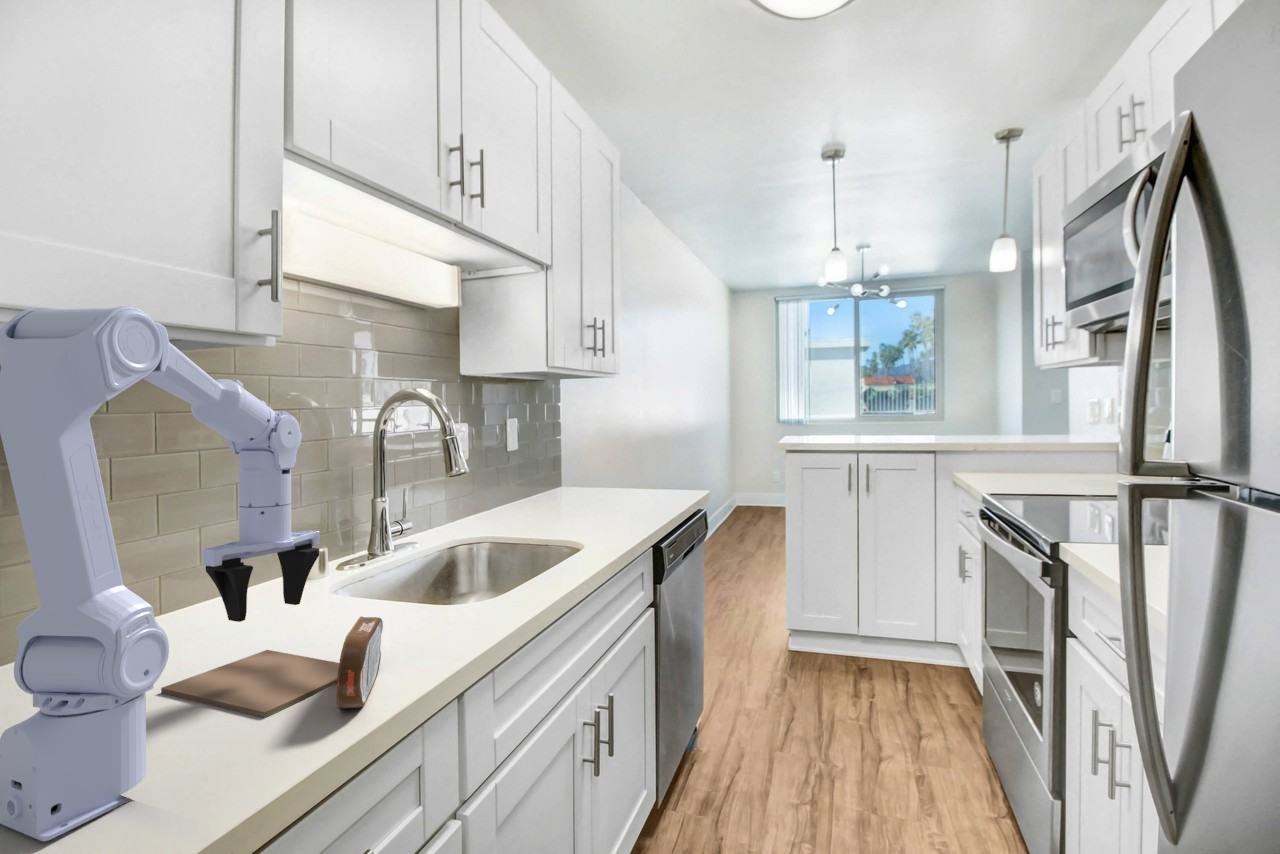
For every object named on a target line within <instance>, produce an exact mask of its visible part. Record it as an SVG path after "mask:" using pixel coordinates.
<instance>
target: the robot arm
mask: <svg viewBox="0 0 1280 854" xmlns="http://www.w3.org/2000/svg"><path fill="white" fill-rule="evenodd" d="M167 330H168V329H167V327H165V326H164V325H162V324H160V323H159V322H156V321H154V320H153V318H152V317H151V316H150V315H149V314H148V313H146V312H145V311H143V310H141V309H139V308H136V307H134V306H123V305H122V306H117V307H109V308H108V307H107V308H62V309H59V308H58V309H55V308H54V309H51V308H44V307H43V308H41V307H33V308H28V309H25V310H22V311H20V312H19V313H16V314H15V315H14V316H13V317H12V318H11V319H10V320H9V321H7V322H6V323H5V324H4V325H3V326H2V327H1V328H0V438H1V442H2V446H3V450H4V454H5V458H6V464H7V467H8V472H9V474H10V475H9V476H10V480H11V483H12V489H13V493H14V497H15V501H16V505H17V509H18V513H19V518H20V523H21V526H22V531H23V534H24V538H25V543H26V547H27V552H28V555H29V559H30V560H29V561H30V564H31V567H32V572H33V577H34V581H35V585H36V588H37V589H36V590H37V593H38V594H37V595H38V598H39V603H40V605H39V606H38V607H37V608H35V610H33V611H32V612H31V613H30V614H29V615H27V616H26V617H25V618H24V619H23V620H22V621H21V622H19V624H18V625H17V626H16V627H15V632H16V636H17V642H18V643H17V644H18V647H17V653H16V656H15V660H14V663H13V664H14V665H13V677H14V681H15V683H16V685H17V686H18V687H19V688H20V690H22V691H23V692H24V693H26V694H29V695H32V707H33V708H38V709H39V710H38V711H37V712H36V713H34V714H33V715H31V716H30V717H29V718H26V719H25V720H23V721H21V722H19V723H16V724H14V725H12V726H10V727H8V728H7V729H5V730H4V731H3V732H2V734H1V736H0V825H2V826H4V827H7V828H9V829H12V830H14V831H16V832H19V833H22V834H23V835H26V836H29V837H31V838H34V839H36V840H38V841H41V842H47V841H50V840H52V839H54V838H56V837H59V836H61V835H63V834H65V833H67V832H69V831H70V830H73V829H75V828H77V827H79V826H81V825H83V824H85V823H87V822H89V821H91V820H93V819H95V818H97V817H99V816H102V815H103V814H105V813H107V812H110V811H112V810H113V809H115V808H118V807H120V806H121V805H123V804H126V803H128V802H130V801H132V800H133V799H132V798H130V797H127V796H124V795H123V794H124V793H127V792H129V791H130V790H132V789H133V788H135V787H137V785H139V784H140V783H141V782H142V781H143V780H144V779H145V777H146V775H147V692H149V691H151V690H152V689H154V684H156V682H157V681H158V680H159V678H160V677H161V675H162V674H163V672H164V670H165V668H166V665H167V662H168V659H169V653H170V644H169V638H168V636H167V635H168V634H167V633H166V631H165V630H164V629H163V628H162V627H161V626H160V624H158V622H157V620H156V618H155V614H154V613H155V612H154V608H153V606H152V605H151V604H150V603H149V602H147V601H146V600H144V598H142V597H141V596H139V595H137V594H136V593H134V592H133V591H132V590H130V589H129V588H128V587H126V585H124V582H123V577H122V571H121V567H120V562H119V557H118V553H117V547H116V544H115V543H116V542H115V539H114V532H113V527H112V524H111V519H110V514H109V509H108V504H107V499H106V494H105V489H104V484H103V481H102V476H101V470H100V466H99V460H98V455H97V451H96V447H95V445H96V444H95V439H94V435H93V431H92V427H91V426H92V425H91V421H90V420H91V418H92V416H93V415H94V414H95V413H96V412H97V411H98V410H99V408H100V407H101V406H103V404H104V403H105V402H109V401H111V400H112V399H113V398H115V397H116V396H118V395H119V394H121V393H123V392H124V391H126V390H128V388H130V387H132V386H133V385H135V384H137V382H139V381H141V380H144V381H146V382H147V383H150V384H152V385H153V386H156V387H158V388H159V389H161V390H164V391H165V392H167V393H168V394H170V395H172V396H174V397H177V398H178V399H180V400H182V401H184V402H186V403H188V404H190V410H191V415H192V417H194V419H195V420H196V421H197V422H199V423H201V424H202V425H204V426H206V427H207V428H209V429H211V430H212V431H214V432H216V433H217V434H219V435H221V436H222V437H223V439H224V438H225V440H226V442H227V445H228V447H229V449H230V451H231V452H232V453H233V455H234V454H235V455H238V459H239V460H238V491H239V492H238V496H239V497H238V500H239V501H238V506H239V507H238V516H239V517H238V519H239V520H238V530H239V531H238V539H239V540H236V541H230V542H227V543H225V544H220V545H217V546H212V547H208V548H207V547H206V548H203V549H202V566H205V571H206V574H207V575H208V576H209V578H211V580H212V582H213V583H214V585H215V586H216V588H217V590H218V592H219V595H220V597H221V599H222V602H223V604H224V608H225V612H226V615H227V619H228V621H232V622H239V623H241V622H243V621H246V617H247V612H248V611H247V609H248V608H247V606H248V605H247V603H248V589H249V583H250V579H251V575H252V572H253V570H254V566H253V565H250V564H249V565H246V564H244V561H243V560H246V559H250V558H251V559H252V558H257V557H261V556H266V555H272V554H277V556H278V560H279V564H280V568H281V569H280V570H281V573H282V574H281V575H282V587H283V588H282V589H283V590H282V591H283V592H282V593H283V600H284V604H286V605H291V606H292V605H293V606H297V605H300V604H301V600H302V596H303V593H304V590H305V587H306V584H307V580H308V577H309V575H310V573H311V570H312V568H313V567H314V565H315V563H316V561H317V559H318V558H319V556H320V548H318V547H317V546H319V545H320V531H319V530H302V531H296V532H292V468H295V466H296V464H297V453H298V450H299V448H300V445H301V443H302V440H303V439H302V437H303V432H301V428H300V427H301V426H300V424H299V422H298V420H297V419H296V418H295V416H293V415H292V414H290V413H289V412H287V411H285V410H274V409H272V408H271V407H270V406H268V404H267V402H266V401H264V400H263V399H259V398H257V397H256V396H255V395H253V394H252V393H251V392H249V391H248V390H246V389H245V388H244V383H242V382H241V381H240V380H239V379H227V378H217V379H214V378H213V377H211V376H210V375H209V374H208V373H207V372H206V371H204V370H203V369H202V368H201V367H200V366H199V365H198V364H196V363H195V362H194V361H192V359H190V358H189V357H188V356H187V355H185V354H184V353H183V352H182V351H181V350H179V349H178V348H177V347H176V346H175V345H173V344H172V343H171V342H170V339H169V334H168V331H167ZM242 561H243V562H242Z"/></svg>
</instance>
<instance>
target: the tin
mask: <svg viewBox="0 0 1280 854" xmlns="http://www.w3.org/2000/svg"><path fill="white" fill-rule="evenodd" d="M383 622H384V621H383V619H382V618H381V617H380V616H379V617H377V616H375V617H373V616H372V617H371V616H370V617H369V616H368V617H364V616H359V617H358V619H357V621H355V623H354V625H353V626H352V627H351V629H350V630H349V632H348V633H347V635H346V637H345V638H344V642H343V646H342V649H341V653H340V656H339V662H338V663H339V668H338V677H337V683H336V692H335V693H336V695H335V697H336V698H335V699H336V708H337V709H338V710H340V711H341V710H343V709H359V708H363V707H364V706H365V705H366V703H367V701H368V699H369V697H370V694H371V693H372V690H373V688H374V686H375V683H376V680H377V677H378V674H379V671H380V665H381V656H382V653H381V652H382V651H381V642H382V632H383V628H384V624H383Z"/></svg>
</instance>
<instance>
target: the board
mask: <svg viewBox="0 0 1280 854" xmlns="http://www.w3.org/2000/svg"><path fill="white" fill-rule="evenodd" d="M338 668H339V662H337V661H332V660H331V661H330V660H325V659H321V658H320V659H319V658H313V657H308V656H302V655H298V654H292V653H287V652H282V651H281V652H280V651H275V650H270V649H265V650H263V651H260V652H258V653H254V654H252V655H248V656H246V657H243V658H241V659H238V660H234V661H231V662H230V663H227V664H224V665H221V666H218V667H215V668H213V669H209V670H208V671H204V672H201V673H198V674H196V675H193V676H191V677H187V678H185V679H182V680H180V681H176V682H174V683H171V684H168V685H165V686H163V687H161V689H160V692H161V694H165V695H169V696H173V697H177V698H182V699H186V700H190V701H194V702H198V703H202V704H207V705H211V706H216V707H220V708H223V709H226V710H232V711H234V712H235V711H236V712H240V713H244V714H249V715H253V716H257V717H261V718H268V717H270V716H272V715H274V714H276V713H279V712H280V711H283V710H285V709H287V708H289V707H291V706H293V705H295V704H298V703H300V702H302V701H303V700H304V701H305V700H306V699H308V698H310V697H312V696H315V695H317V694H318V693H321V692H322V691H325V690H326V689H329V688H330V687H332V686H334V685H337V677H338Z"/></svg>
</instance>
